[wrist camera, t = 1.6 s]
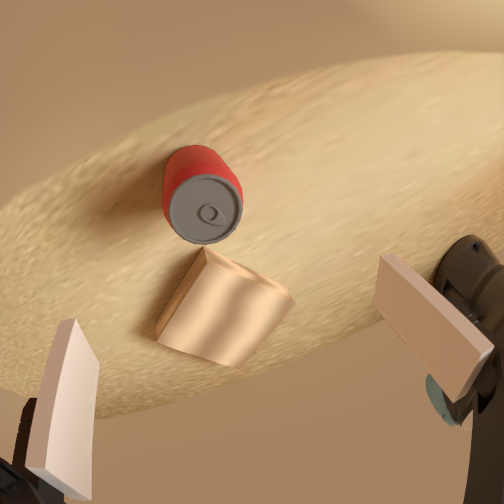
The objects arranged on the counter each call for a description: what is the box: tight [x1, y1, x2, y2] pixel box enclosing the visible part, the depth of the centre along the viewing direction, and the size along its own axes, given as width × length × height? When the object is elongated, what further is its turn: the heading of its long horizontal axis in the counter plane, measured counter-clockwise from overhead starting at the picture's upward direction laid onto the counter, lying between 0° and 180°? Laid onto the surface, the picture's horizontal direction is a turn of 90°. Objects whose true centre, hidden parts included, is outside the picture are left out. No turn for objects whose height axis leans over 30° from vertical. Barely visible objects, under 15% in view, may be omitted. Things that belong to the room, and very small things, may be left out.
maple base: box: [156, 247, 295, 369], centre depth 40 cm, size 13×13×4 cm
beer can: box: [162, 145, 243, 245], centre depth 28 cm, size 7×7×12 cm
